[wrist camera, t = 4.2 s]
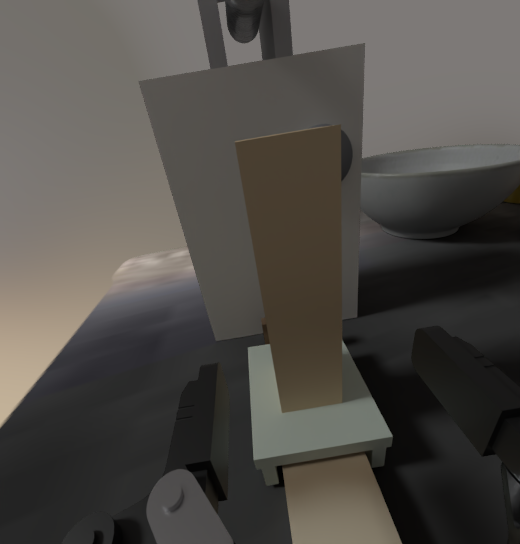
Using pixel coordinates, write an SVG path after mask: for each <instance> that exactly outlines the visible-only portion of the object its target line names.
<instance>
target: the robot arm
mask: <svg viewBox="0 0 520 544" xmlns="http://www.w3.org/2000/svg"><path fill="white" fill-rule="evenodd" d="M411 359H412V363H413V366H414V368H415V370H416V372H417V373H418V374H419V376H420V377H421V378H422V380H423V381H424V382H425V384H426V385H427V386H428V387H429V389H430V390H431V391H432V393H433V394H434V395H435V396H436V398H437V399H438V400H439V402H440V403H441V404H442V405H443V407H444V408H445V409H446V411H447V412H448V413H449V415H450V416H451V417H452V418H453V420H454V421H455V422H456V424H457V425H458V426H459V427H460V429H461V430H462V431H463V433H464V434H465V435H466V436H467V438H468V439H469V440H470V442H471V443H472V444H473V446H474V447H475V448H476V449H477V451H478V452H479V453H480V455H481V456H482V457H483V456H488V455H494V454H497V456H498V457H499V458H500V459H501V461H502V463H501V474H502V483H503V491H504V499H505V507H506V515H507V524H508V543H507V544H520V387H519V386H518V385H517V384H516V383H515V382H514V381H512V380H511V379H510V378H509V377H508V376H507V375H506V374H504V373H503V372H502V371H501V370H500V369H499V368H498V367H495V366H494V364H493V363H492V362H491V361H490V360H488V359H487V358H485V357H484V355H483V354H482V353H480V352H479V351H478V350H477V349H476V348H475V347H474V346H472V345H471V344H469V343H467V342H465V341H463V340H462V339H460V338H458V337H451V336H450V335H449V334H448V333H447V332H446V331H445V330H444V329H442V328H441V327H440V326H432V327H426V328H421V329H417V330H416V332H415V337H414V343H413V350H412V356H411ZM229 405H230V402H229V392H228V387H227V383H226V380H225V377H224V374H223V370H222V367H221V364H220V363H213V364H208V365H202V366H201V367H200V371H199V378H198V380H196V381H190V382H189V383H188V384H187V386H186V387H185V389H184V391H183V392H182V394H181V398H180V403H179V407H178V408H179V410H178V412H177V417H176V422H175V426H174V431H173V435H172V440H171V445H170V450H169V454H168V459H167V464H166V468H165V471H164V474H163V476H162V478H161V479H160V480H159V481H158V482H157V484H156V485H155V486H154V488H153V490H152V492H151V493H150V494H149V495H148V496H146V497H145V498H144V499H142V500H141V501H139V502H137V503H136V504H134V505H132V506H130V507H129V508H127V509H125V510H123V511H121V512H120V513H118V514H116V515H114V516H112V517H111V516H110V515H109V514H108V513H106V512H102V511H99V512H94V513H92V514H90V515H88V516H86V517H84V518H83V519H82V520H80V521H79V522H78V523H77V524H76V525H75V526H74V527H73V528H72V529H71V530H70V531H69V533H68V534H67V535H66V537H65V538H64V540H63V541H62V543H61V544H235V543H234V541H233V540H232V538H231V537H230V535H229V533H228V532H227V530H226V528H225V527H224V525H223V523H222V522H221V520H220V518H219V517H218V501H224V500H227V492H228V448H229Z"/></svg>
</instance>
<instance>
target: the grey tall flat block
mask: <svg viewBox="0 0 520 544" xmlns="http://www.w3.org/2000/svg"><path fill="white" fill-rule="evenodd" d="M224 1H225V0H198V5H199V10H200V15H201V20H202V25H203V31H204V37H205V42H206V47H207V52H208V57H209V63H210V68H211V69H209V70H203V71H197V72H191V73H185V74H179V75H173V76H167V77H161V78H156V79H149V80H144V81H139V84H140V88H141V91H142V94H143V98H144V102H145V105H146V108H147V112H148V115H149V118H150V122H151V125H152V128H153V132H154V135H155V138H156V142H157V145H158V148H159V152H160V155H161V159H162V162H163V165H164V169H165V172H166V175H167V179H168V182H169V185H170V189H171V192H172V196H173V199H174V202H175V205H176V209H177V212H178V216H179V219H180V222H181V226H182V229H183V232H184V236H185V239H186V242H187V246H188V249H189V253H190V256H191V259H192V263H193V266H194V269H195V273H196V276H197V279H198V283H199V286H200V289H201V293H202V296H203V300H204V303H205V306H206V310H207V313H208V316H209V320H210V323H211V326H212V330H213V333H214V336H215V340H216V341H221V340H227V339H233V338H239V337H244V336H250V335H256V334H262V333H263V329H262V322H261V318H265V313H264V308H263V302H262V296H261V290H260V285H259V279H258V273H257V267H256V262H255V256H254V250H253V244H252V239H251V233H250V227H249V221H248V216H247V210H246V204H245V198H244V193H243V187H242V181H241V175H240V170H239V164H238V158H237V152H236V147H235V141H239V140H245V139H251V138H257V137H263V136H269V135H275V134H281V133H287V132H292V131H298V130H304V129H310V128H317V127H325V126H332V125H340V124H341V226H342V320H345V319H351V318H357V306H358V271H359V235H360V200H361V164H362V127H363V94H364V93H363V92H364V58H365V43H363V44H357V45H351V46H345V47H339V48H334V49H328V50H322V51H316V52H310V53H304V54H298V55H293V52H292V37H291V24H290V10H289V0H264V4H263V9H262V15H261V20H260V25H259V33H260V41H261V49H262V58H263V60H262V61H257V62H250V63H244V64H238V65H233V66H228V65H227V59H226V53H225V47H224V41H223V35H222V29H221V23H220V18H219V11H218V5H217V3H218V2H224Z"/></svg>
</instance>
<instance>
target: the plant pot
mask: <svg viewBox="0 0 520 544" xmlns="http://www.w3.org/2000/svg"><path fill="white" fill-rule="evenodd" d="M504 202H508V203H517V204H520V185H519V186H518V187H517V188H516V190H515V191H514V192H513V193H512V194H511V195H509V196H508V197H507V198H506V199H505V200H504Z"/></svg>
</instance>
